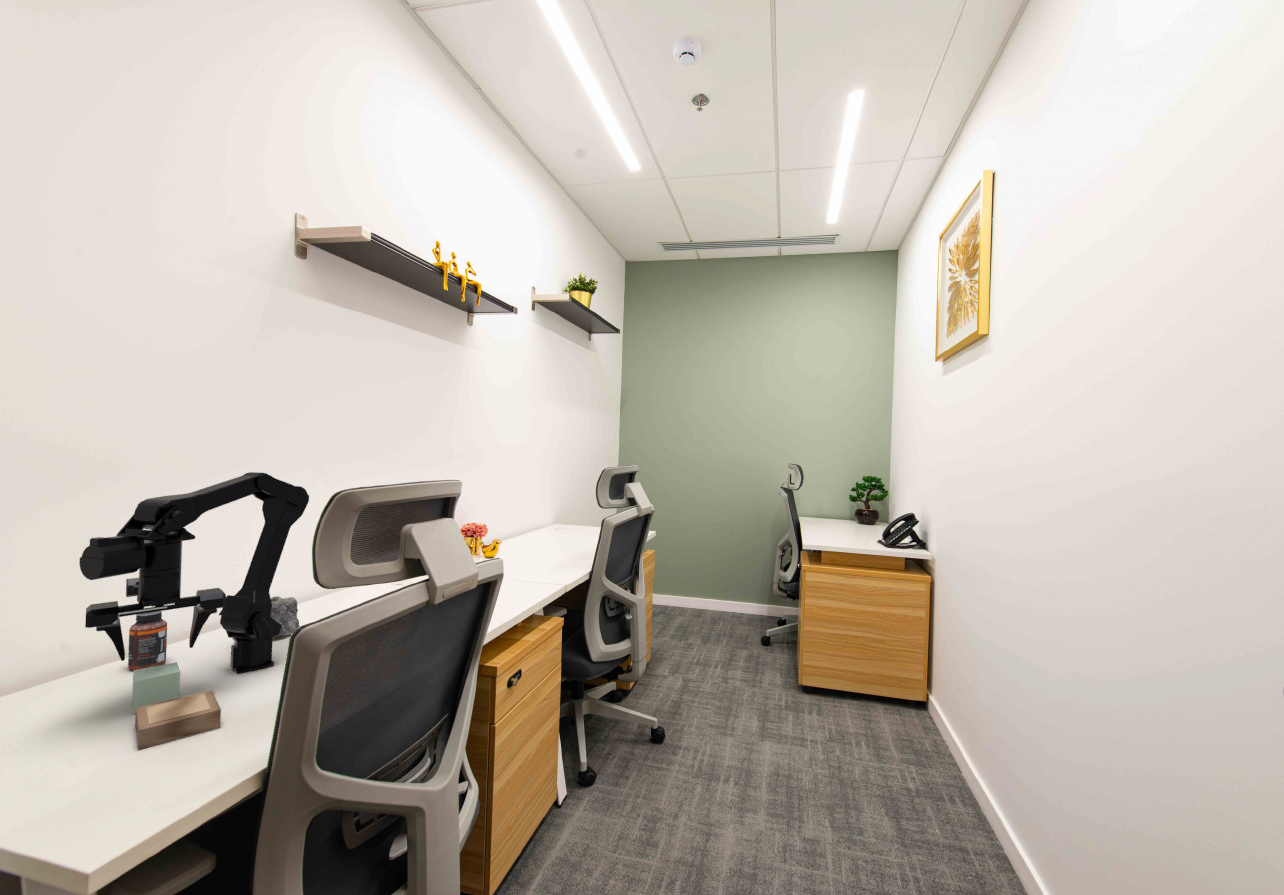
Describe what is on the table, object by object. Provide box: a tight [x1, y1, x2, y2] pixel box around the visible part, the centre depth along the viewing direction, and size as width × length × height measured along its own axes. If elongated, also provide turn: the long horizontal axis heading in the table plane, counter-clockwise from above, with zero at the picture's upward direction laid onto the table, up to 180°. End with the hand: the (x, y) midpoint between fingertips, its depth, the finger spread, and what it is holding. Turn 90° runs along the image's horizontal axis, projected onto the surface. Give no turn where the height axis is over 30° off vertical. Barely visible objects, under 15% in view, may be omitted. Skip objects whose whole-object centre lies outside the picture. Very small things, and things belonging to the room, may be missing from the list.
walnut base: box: [134, 689, 222, 751], centre depth 90 cm, size 10×10×3 cm
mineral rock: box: [232, 595, 300, 642], centre depth 132 cm, size 13×11×10 cm
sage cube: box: [131, 661, 181, 716], centre depth 97 cm, size 6×6×6 cm
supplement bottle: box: [127, 611, 168, 671], centre depth 114 cm, size 6×6×11 cm
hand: (158, 653), depth 98 cm, fingers open, 9 cm apart
